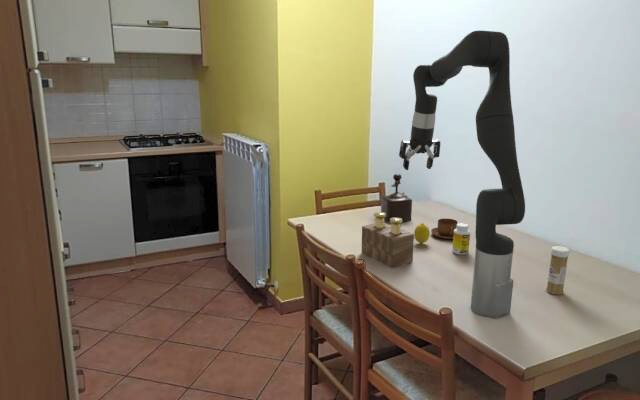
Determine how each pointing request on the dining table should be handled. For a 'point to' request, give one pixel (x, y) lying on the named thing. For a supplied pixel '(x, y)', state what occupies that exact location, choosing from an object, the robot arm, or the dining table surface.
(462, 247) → the supplement bottle
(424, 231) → the lemon
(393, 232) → the near peg
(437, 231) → the cup and saucer
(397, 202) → the manual coffee grinder
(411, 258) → the brown wooden block
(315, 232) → the dining table surface
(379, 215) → the far peg
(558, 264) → the sprinkles bottle
